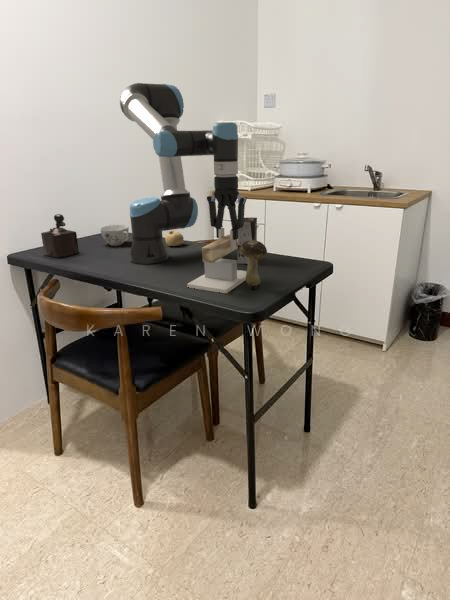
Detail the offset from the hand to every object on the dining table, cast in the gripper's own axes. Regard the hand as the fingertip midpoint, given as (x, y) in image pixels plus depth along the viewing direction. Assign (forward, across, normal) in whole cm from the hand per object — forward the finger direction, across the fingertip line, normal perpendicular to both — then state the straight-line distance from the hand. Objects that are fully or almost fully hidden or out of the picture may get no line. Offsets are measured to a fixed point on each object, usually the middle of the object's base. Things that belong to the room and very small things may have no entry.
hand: (227, 248), depth 140 cm
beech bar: (+1, 0, -5) cm, 5 cm away
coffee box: (+10, -2, +21) cm, 24 cm away
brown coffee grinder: (+10, -76, -1) cm, 77 cm away
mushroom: (+10, +13, -7) cm, 18 cm away
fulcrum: (+10, 0, -5) cm, 11 cm away
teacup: (+10, -67, +22) cm, 71 cm away
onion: (+10, -42, +31) cm, 53 cm away
